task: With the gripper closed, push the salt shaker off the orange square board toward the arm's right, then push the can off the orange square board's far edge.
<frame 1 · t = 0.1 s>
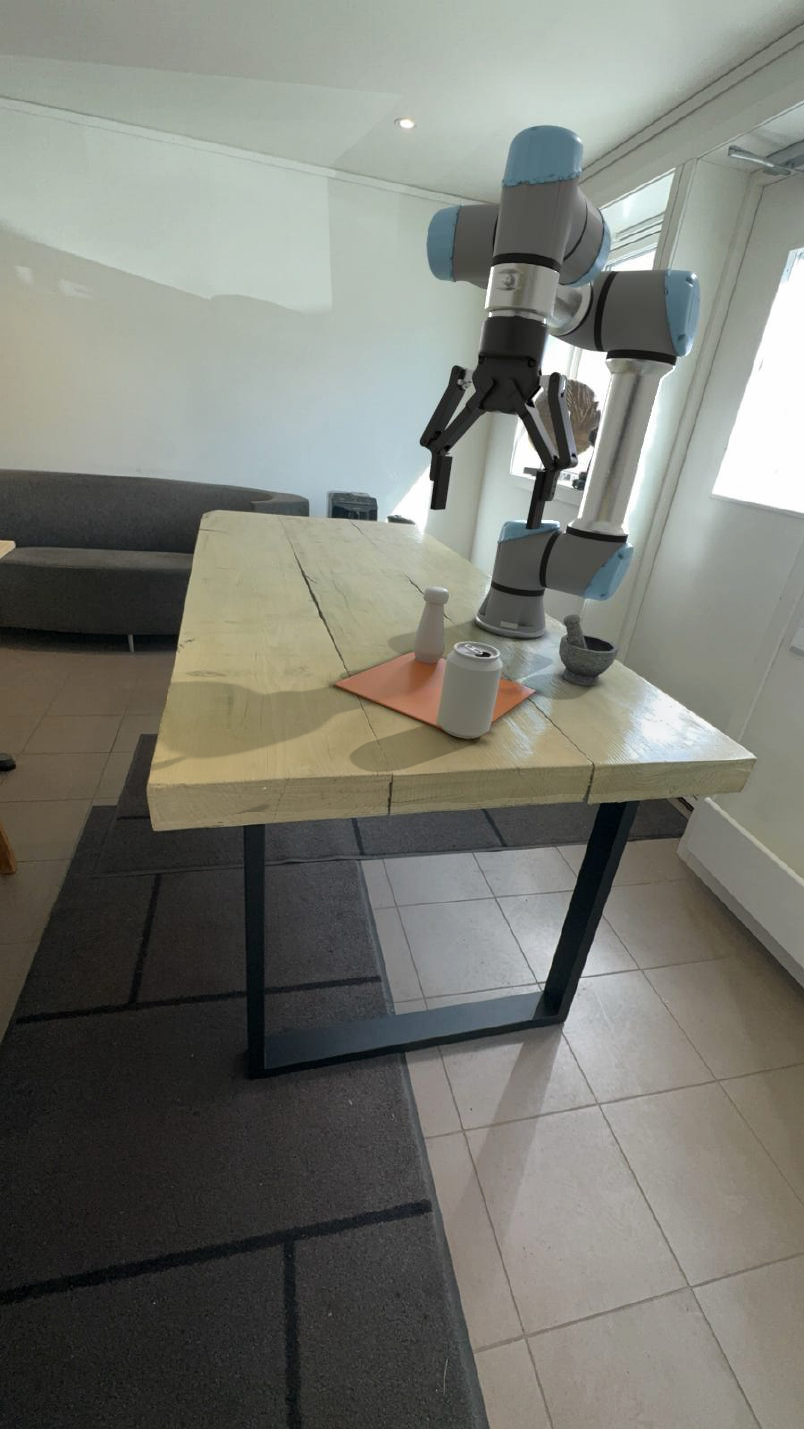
hand: (483, 519, 74), 28 cm above the table, tool pointing down, fingers open, 13 cm apart
salt shaker: (426, 660, 106), resting on orange square board
orange square board: (438, 688, 95), on the table
can: (462, 729, 83), on the table, touching orange square board
mortar and pestle: (576, 679, 107), on the table
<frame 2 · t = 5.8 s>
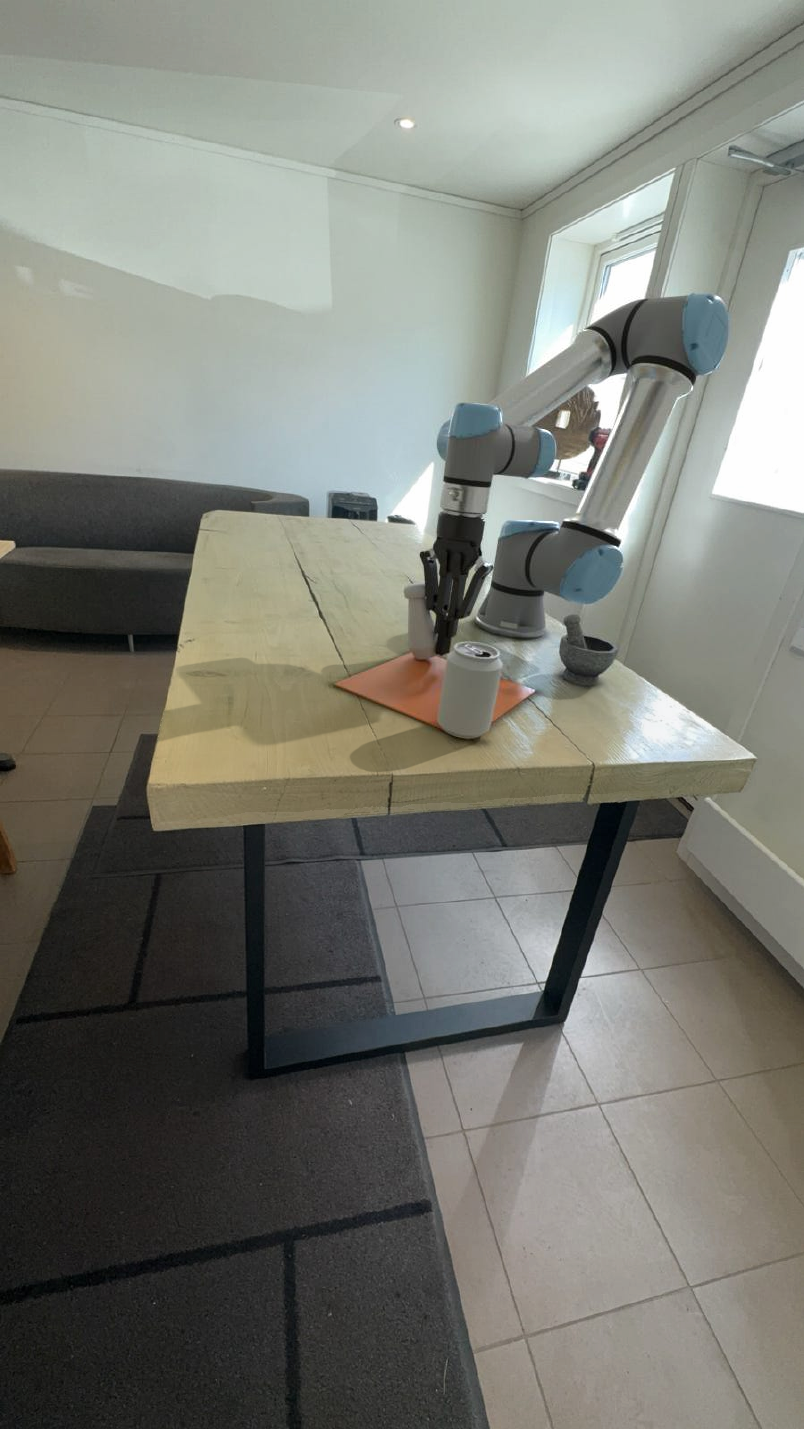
hand: (442, 653, 103), 2 cm above the table, tool pointing down, fingers closed
salt shaker: (426, 657, 106), point 1 cm above the table, touching gripper, hand, orange square board
everything else where it was.
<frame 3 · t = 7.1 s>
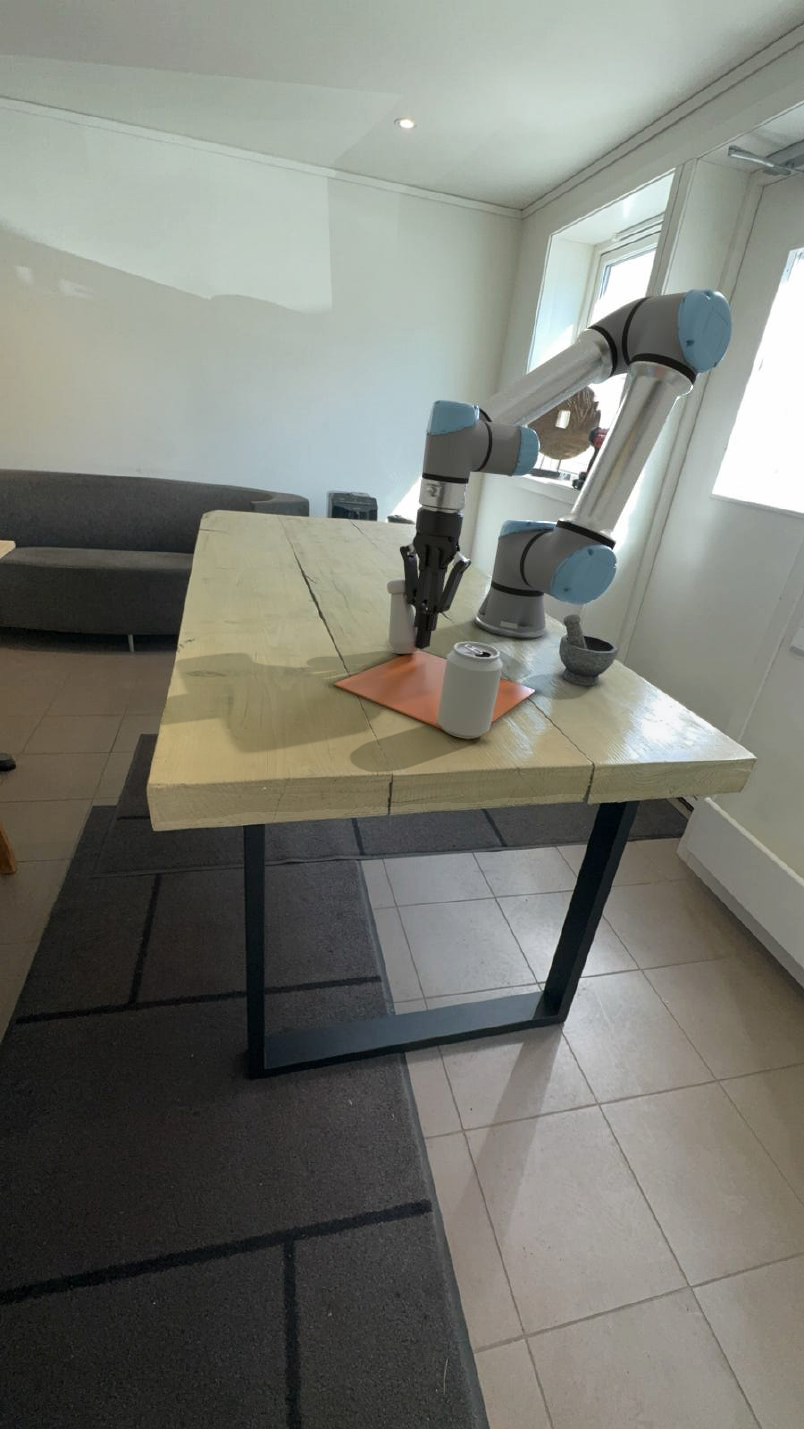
hand: (422, 646, 105), 2 cm above the table, tool pointing down, fingers closed
salt shaker: (406, 652, 107), on the table, touching gripper, hand
everything else where it was.
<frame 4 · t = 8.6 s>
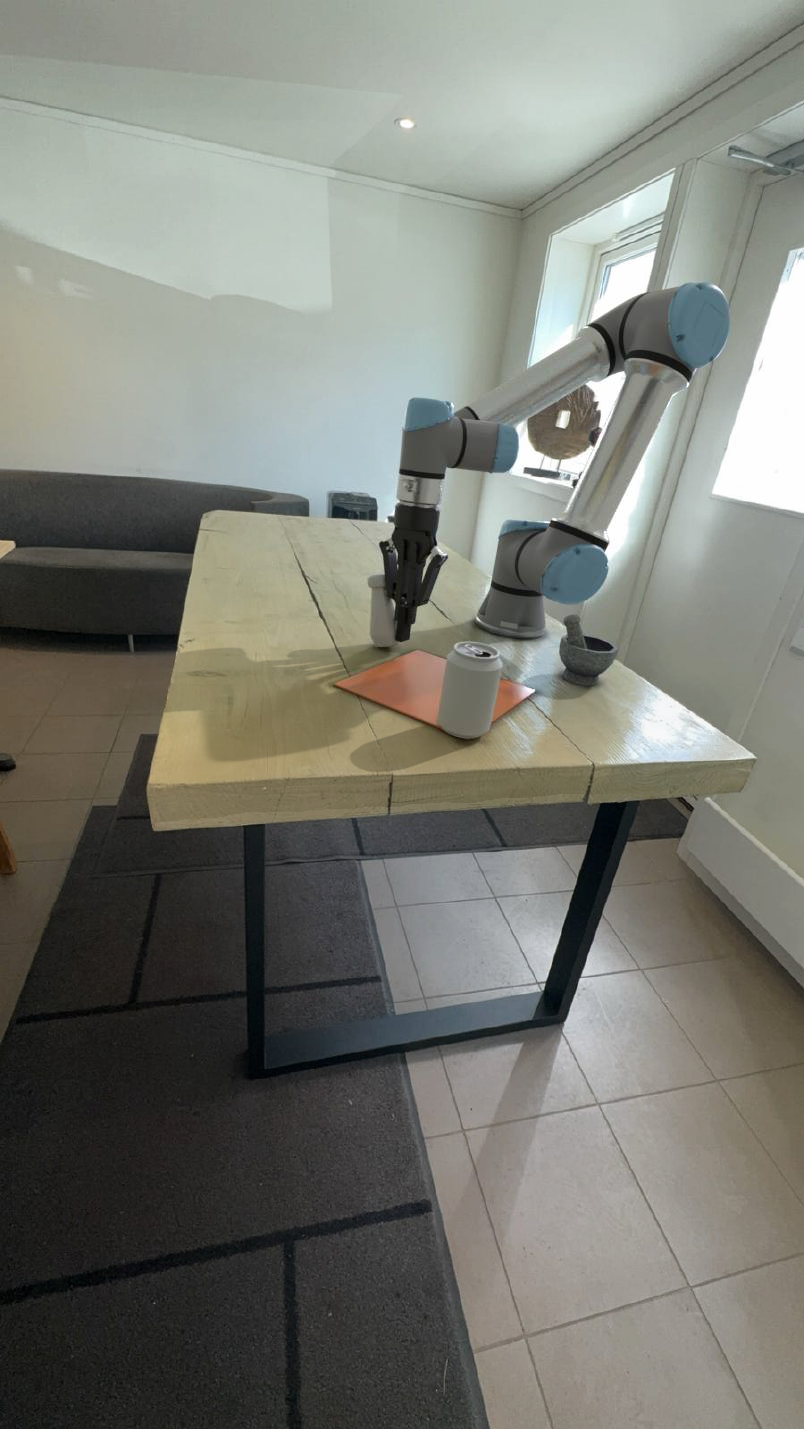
hand: (402, 639, 107), 2 cm above the table, tool pointing down, fingers closed
salt shaker: (387, 646, 109), on the table, touching gripper, hand
everything else where it was.
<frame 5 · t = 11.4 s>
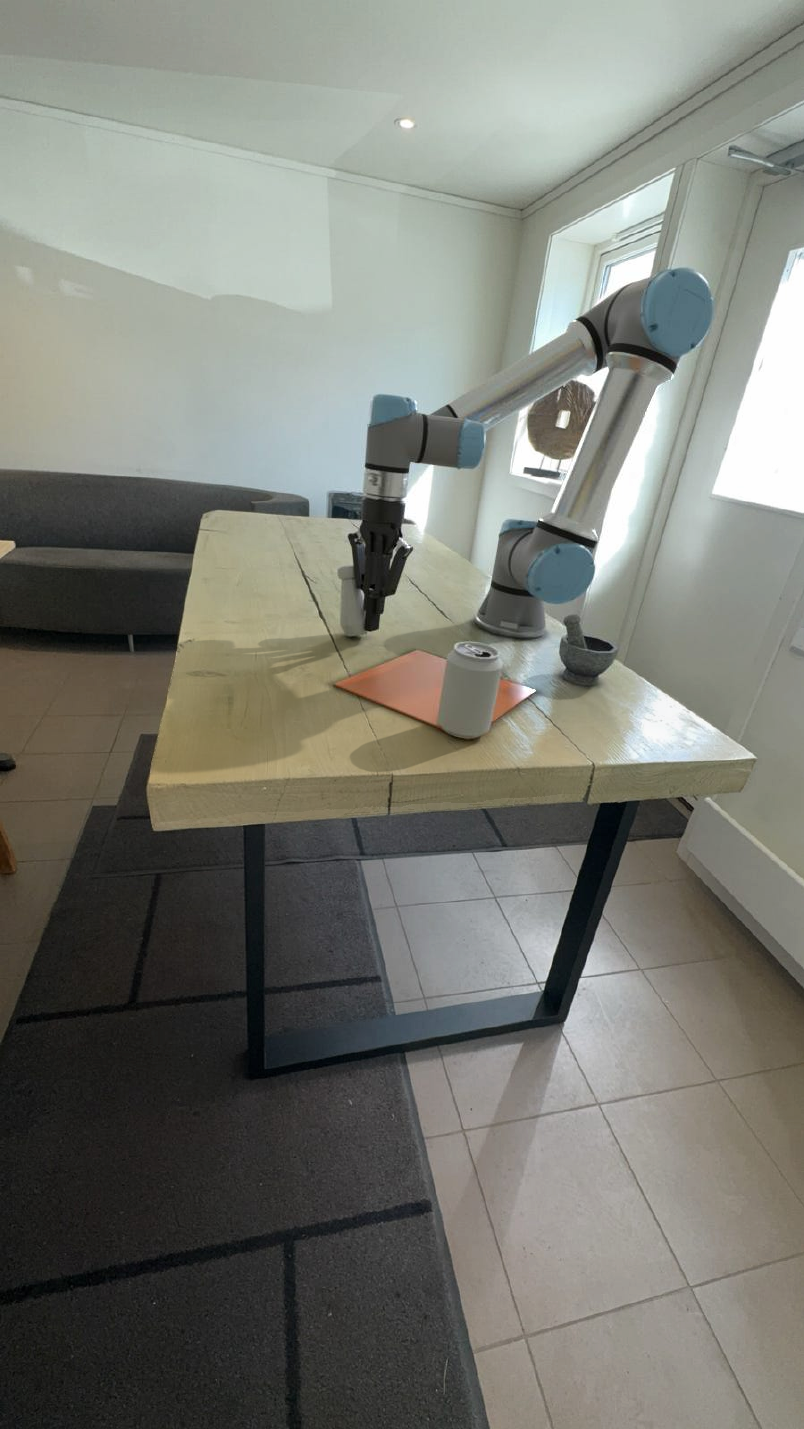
hand: (371, 629, 111), 2 cm above the table, tool pointing down, fingers closed
salt shaker: (357, 635, 113), on the table, touching gripper, hand
everything else where it was.
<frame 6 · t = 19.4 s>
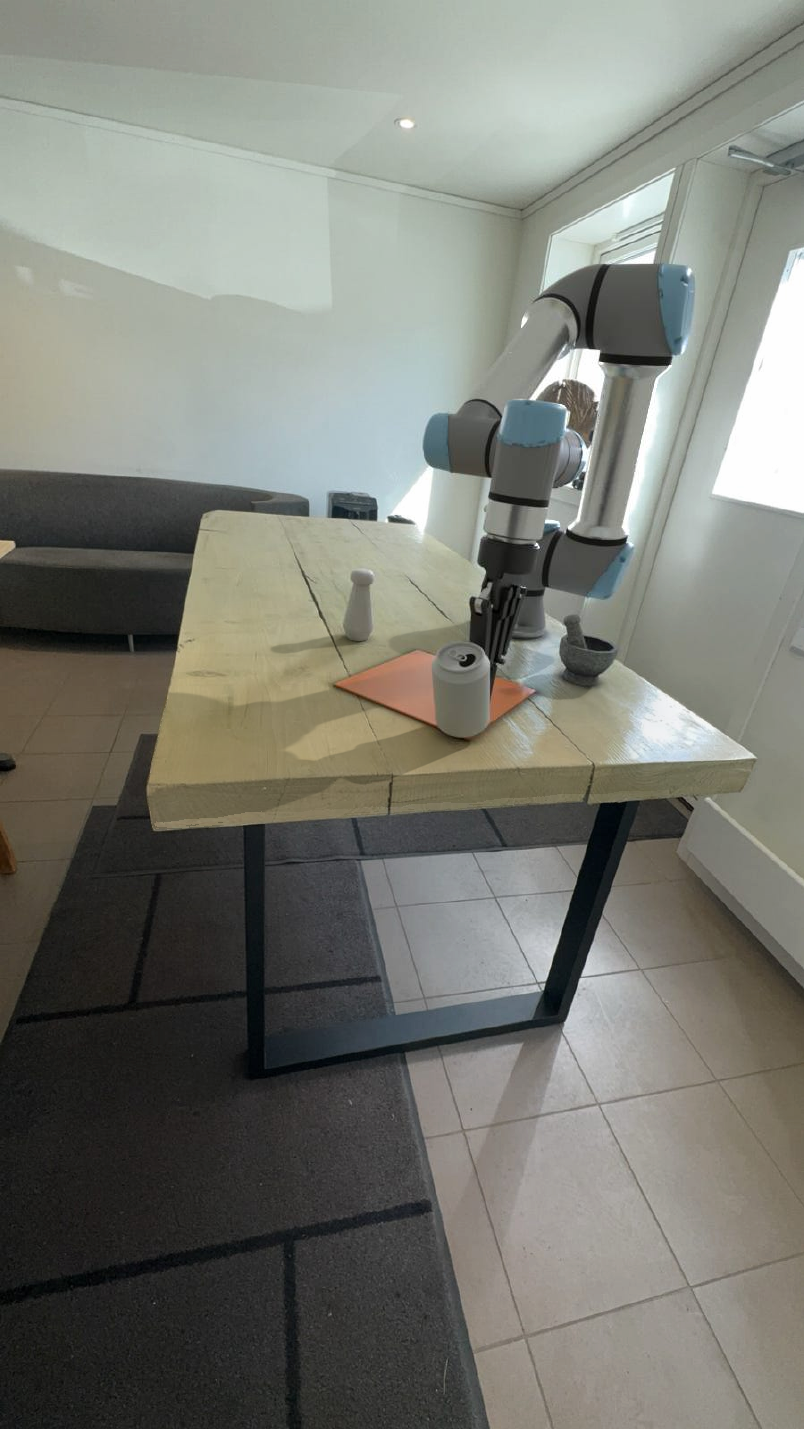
hand: (478, 705, 85), 3 cm above the table, tool pointing down, fingers closed
salt shaker: (357, 638, 113), on the table
can: (462, 723, 82), point 1 cm above the table, touching gripper, hand
everything else where it was.
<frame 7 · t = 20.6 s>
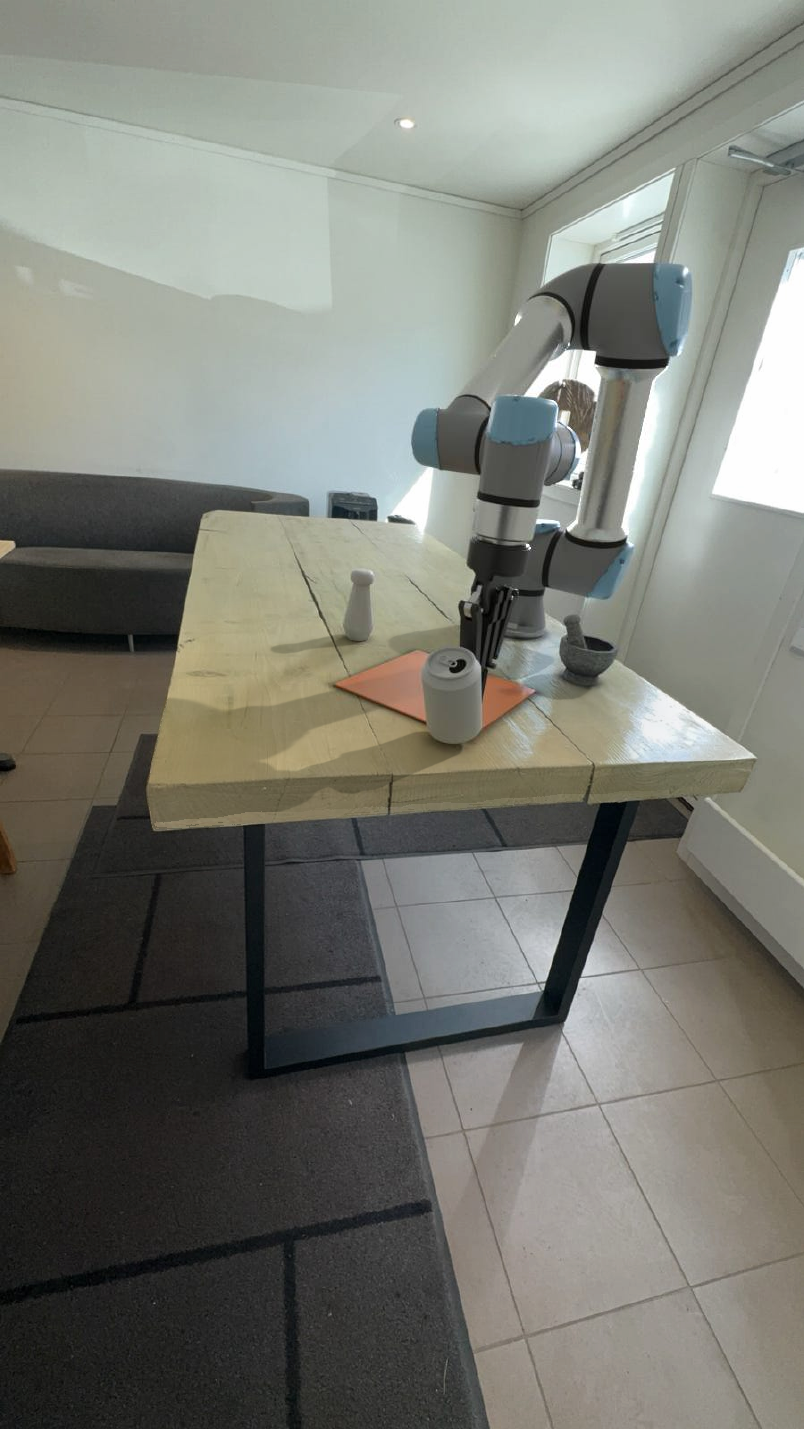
hand: (470, 710, 83), 3 cm above the table, tool pointing down, fingers closed
can: (454, 729, 80), point 1 cm above the table, touching gripper, hand
everything else where it was.
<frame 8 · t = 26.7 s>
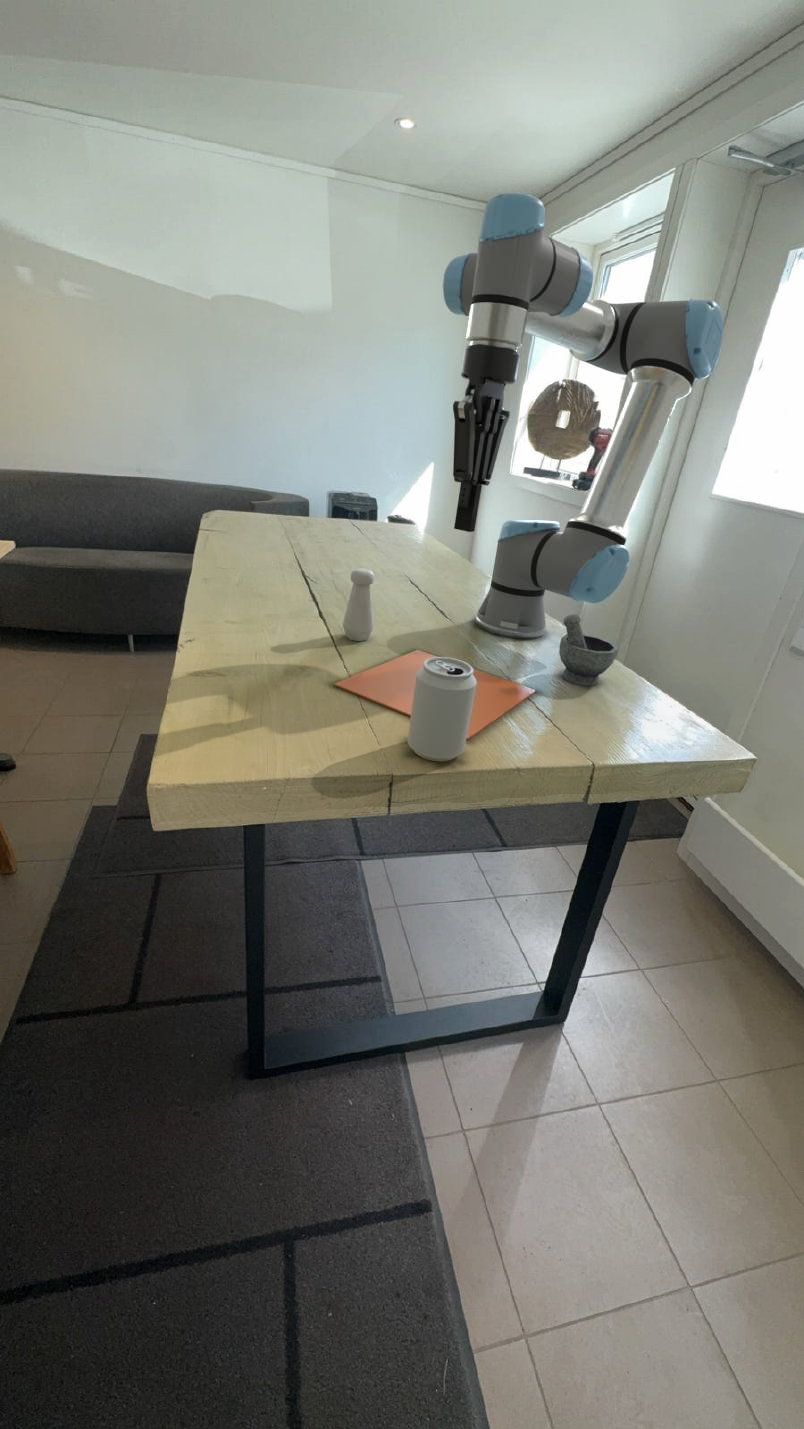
hand: (464, 529, 89), 24 cm above the table, tool pointing down, fingers closed
can: (434, 751, 77), on the table
everything else where it was.
at the end: salt shaker inside the target area on the table beside the orange square board (1.3 cm from its centre), on the table; can inside the target area on the table beside the orange square board (3.6 cm from its centre), on the table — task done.
